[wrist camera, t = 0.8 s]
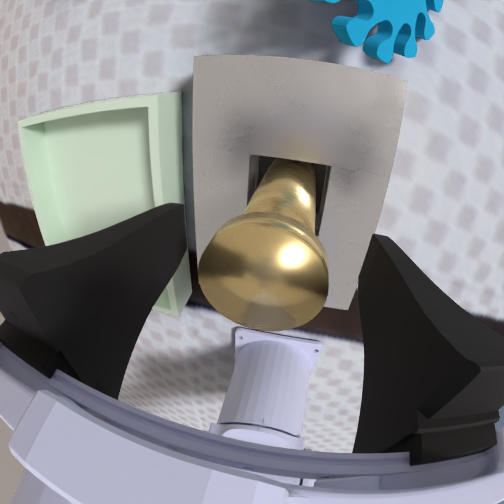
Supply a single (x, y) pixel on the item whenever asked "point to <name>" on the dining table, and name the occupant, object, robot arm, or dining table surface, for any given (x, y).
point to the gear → (387, 26)
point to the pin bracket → (296, 146)
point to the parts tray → (107, 170)
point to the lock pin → (270, 255)
